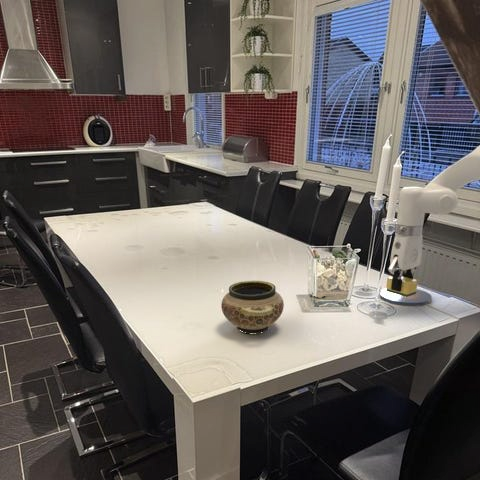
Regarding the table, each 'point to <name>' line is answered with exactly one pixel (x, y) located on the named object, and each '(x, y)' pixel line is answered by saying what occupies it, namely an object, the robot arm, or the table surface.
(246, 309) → the ceramic bowl
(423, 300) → the plate
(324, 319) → the table surface
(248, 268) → the table surface
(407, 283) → the sponge
